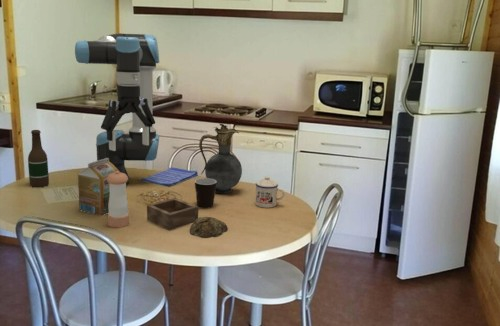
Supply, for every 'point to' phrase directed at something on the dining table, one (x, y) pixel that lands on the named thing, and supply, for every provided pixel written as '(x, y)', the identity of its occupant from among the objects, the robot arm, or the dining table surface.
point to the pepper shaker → (118, 200)
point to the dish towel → (170, 177)
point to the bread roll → (208, 227)
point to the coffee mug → (205, 192)
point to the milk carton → (95, 187)
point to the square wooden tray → (172, 213)
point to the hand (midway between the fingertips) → (129, 147)
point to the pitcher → (222, 161)
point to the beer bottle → (37, 162)
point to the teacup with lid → (267, 193)
